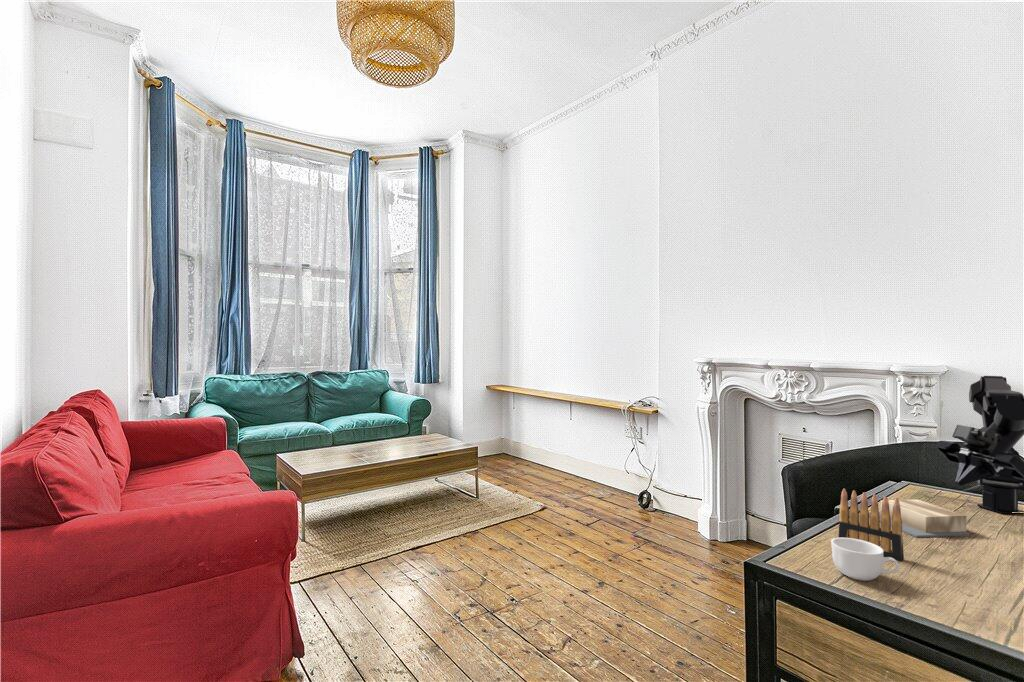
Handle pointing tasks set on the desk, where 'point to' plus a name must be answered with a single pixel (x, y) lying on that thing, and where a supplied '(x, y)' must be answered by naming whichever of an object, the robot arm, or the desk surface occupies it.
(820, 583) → the desk surface
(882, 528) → the ammunition clip
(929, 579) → the desk surface
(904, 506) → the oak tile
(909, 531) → the mat
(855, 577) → the teacup
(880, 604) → the desk surface
